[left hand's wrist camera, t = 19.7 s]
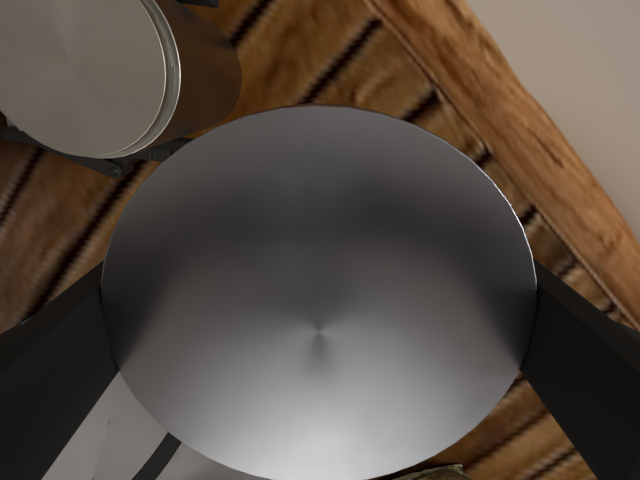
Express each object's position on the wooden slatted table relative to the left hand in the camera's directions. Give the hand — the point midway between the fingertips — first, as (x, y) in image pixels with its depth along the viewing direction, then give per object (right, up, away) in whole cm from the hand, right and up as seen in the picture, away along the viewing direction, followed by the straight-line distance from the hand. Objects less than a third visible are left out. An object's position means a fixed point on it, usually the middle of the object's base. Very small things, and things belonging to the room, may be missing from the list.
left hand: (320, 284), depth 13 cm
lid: (0, -1, -2) cm, 3 cm away
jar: (-13, +17, +24) cm, 33 cm away
